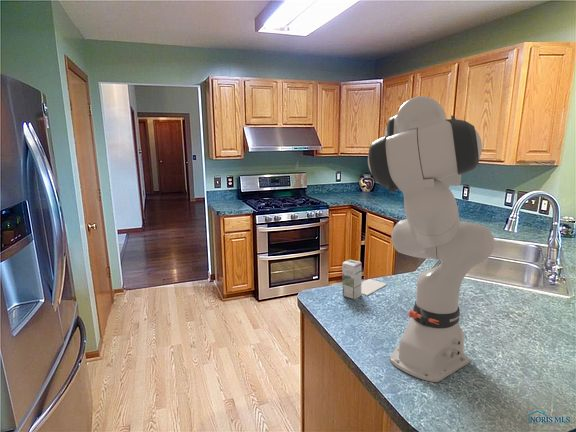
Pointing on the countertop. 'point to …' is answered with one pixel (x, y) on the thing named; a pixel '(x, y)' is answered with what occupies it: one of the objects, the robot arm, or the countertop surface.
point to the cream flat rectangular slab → (371, 286)
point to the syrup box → (351, 279)
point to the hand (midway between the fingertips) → (427, 198)
